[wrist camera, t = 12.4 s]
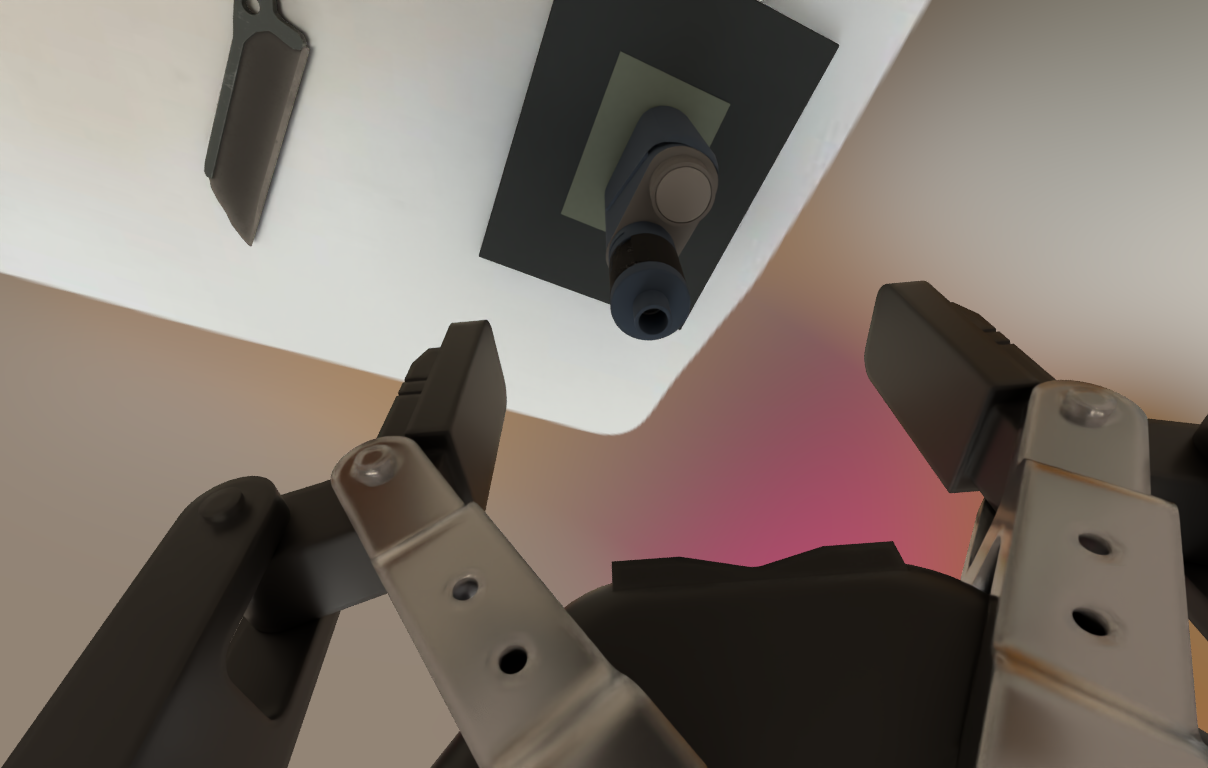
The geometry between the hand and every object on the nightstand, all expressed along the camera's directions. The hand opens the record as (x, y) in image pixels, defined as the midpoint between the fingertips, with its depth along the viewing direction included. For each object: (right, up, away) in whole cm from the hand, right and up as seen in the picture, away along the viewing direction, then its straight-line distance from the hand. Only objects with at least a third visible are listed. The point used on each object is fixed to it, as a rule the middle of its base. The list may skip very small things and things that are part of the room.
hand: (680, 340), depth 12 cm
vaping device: (0, +9, +13) cm, 16 cm away
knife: (-15, +11, +12) cm, 22 cm away
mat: (0, +9, +13) cm, 16 cm away
